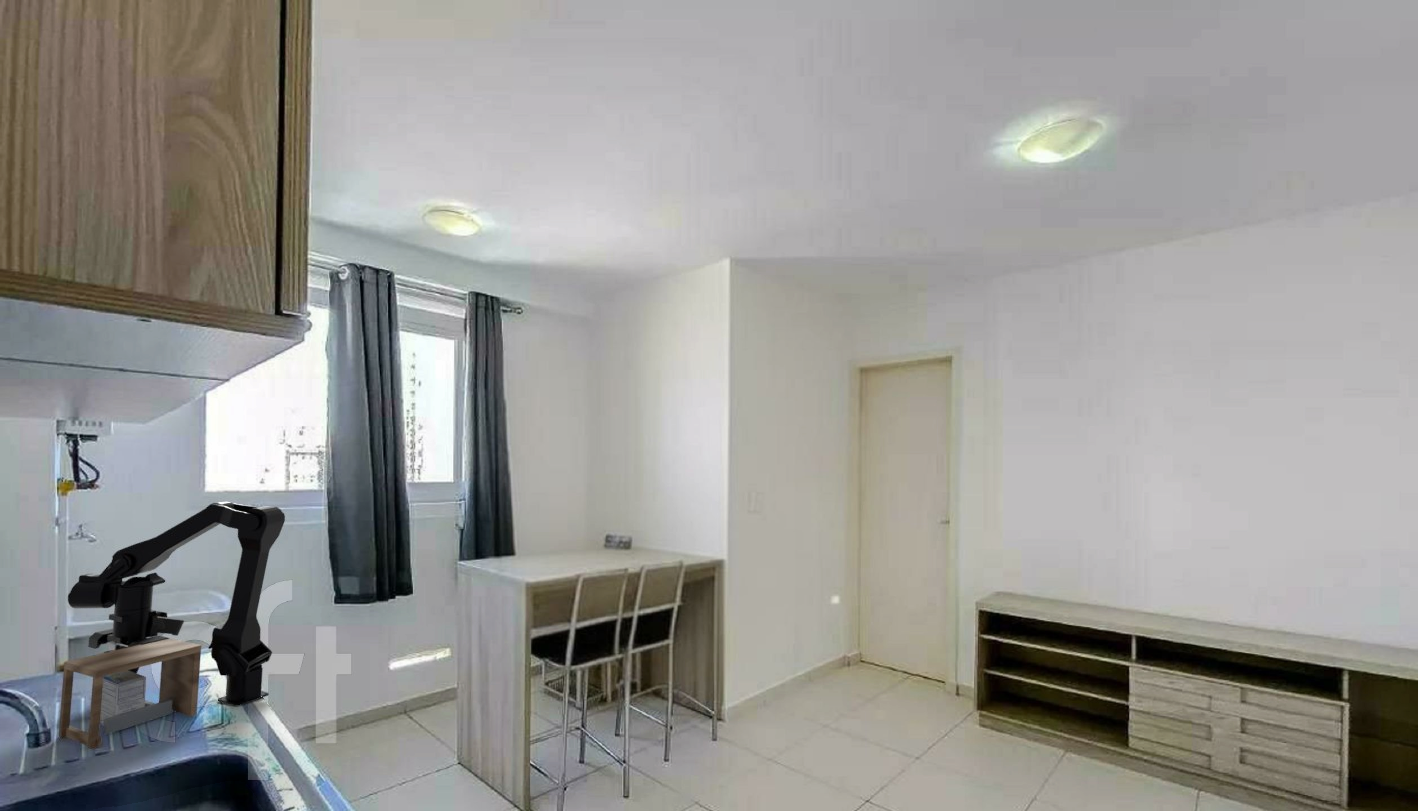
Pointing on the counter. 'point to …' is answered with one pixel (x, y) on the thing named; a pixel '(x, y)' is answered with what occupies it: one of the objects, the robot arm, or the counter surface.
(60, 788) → the counter surface
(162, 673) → the walnut shelf
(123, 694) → the medicine box
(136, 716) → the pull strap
